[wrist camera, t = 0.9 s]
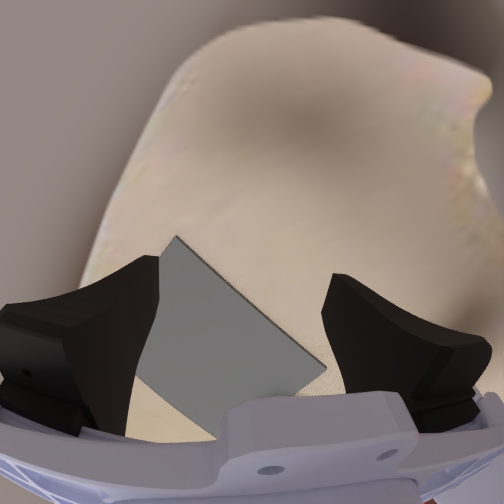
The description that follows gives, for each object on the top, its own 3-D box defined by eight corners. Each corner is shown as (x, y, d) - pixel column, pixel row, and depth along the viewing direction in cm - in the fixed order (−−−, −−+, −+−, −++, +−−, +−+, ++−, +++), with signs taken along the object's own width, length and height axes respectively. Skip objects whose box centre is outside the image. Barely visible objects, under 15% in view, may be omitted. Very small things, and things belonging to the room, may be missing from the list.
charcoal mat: (326, 367, 31) (327, 369, 30) (221, 439, 36) (220, 441, 36) (176, 236, 31) (175, 237, 30) (103, 341, 36) (102, 343, 36)
